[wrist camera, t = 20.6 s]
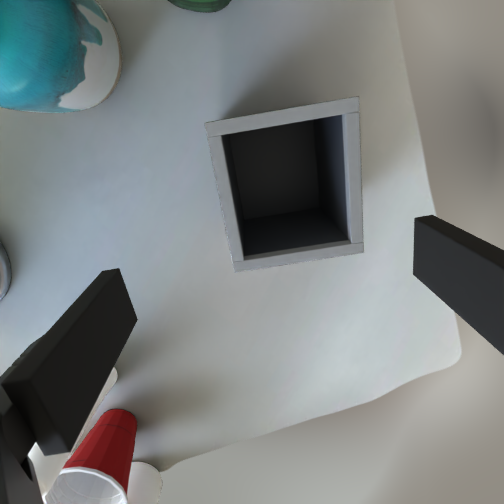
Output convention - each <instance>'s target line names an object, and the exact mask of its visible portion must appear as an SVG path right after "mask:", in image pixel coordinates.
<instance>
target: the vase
mask: <svg viewBox="0 0 504 504" xmlns="http://www.w3.org/2000/svg"><path fill="white" fill-rule="evenodd" d="M121 69H122V52H121V46H120V42H119V38H118V36H117V33H116V30H115V28H114V26H113V24H112V22H111V20H110V18H109V17H108V15H107V14H106V13H105V11H104V10H103V8H102V7H101V6H100V4H99V3H98V2H97V1H96V0H0V107H2V108H7V109H13V110H19V111H29V112H47V113H65V112H74V111H81V110H85V109H88V108H92V107H94V106H96V105H98V104H100V103H102V102H103V101H104V100H105V99H107V98H108V97H109V96H110V95H111V93H112V92H113V91H114V89H115V87H116V86H117V84H118V81H119V78H120V75H121Z"/></svg>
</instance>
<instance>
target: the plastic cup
mask: <svg viewBox="0 0 504 504" xmlns="http://www.w3.org/2000/svg"><path fill="white" fill-rule="evenodd" d="M136 431H137V421H136V418H135V417H134V416H133V415H132V414H131V413H130V412H128V411H125V410H122V409H112V410H109V411H107V412H105V413H104V414H103V415H102V416H101V417H100V419H99V420H98V421H97V423H96V424H95V426H94V427H93V429H91V430H90V432H89V433H88V434H87V436H86V437H85V439H84V440H83V441H82V443H81V444H80V445H79V447H78V448H77V449H76V451H75V452H74V454H73V455H72V456H71V458H70V459H69V460H68V461H67V462H66V463H65V465H64V467H63V468H62V470H61V472H60V474H59V475H58V477H57V479H56V480H55V482H54V484H53V485H52V487H51V489H50V490H49V492H48V494H47V495H46V496H44V497H43V498H42V499H43V501H44V503H45V504H127V503H128V497H127V491H128V484H129V475H130V469H131V464H132V458H133V452H134V446H135V437H136Z"/></svg>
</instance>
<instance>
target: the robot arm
mask: <svg viewBox="0 0 504 504" xmlns="http://www.w3.org/2000/svg"><path fill="white" fill-rule="evenodd" d="M413 275H414V276H416V277H417V278H418V279H419V280H420V281H421V282H422V283H423V284H425V285H426V286H427V287H428V288H429V289H430V290H431V291H432V292H433V293H435V294H436V295H437V296H438V297H439V298H440V299H441V300H442V301H444V302H445V303H446V304H447V305H448V306H449V307H450V308H451V309H452V310H454V311H455V312H456V313H457V314H458V315H459V316H461V317H462V318H463V319H464V320H465V321H466V322H467V323H468V324H469V325H470V326H472V327H473V328H474V329H475V330H476V331H477V332H478V333H479V334H480V335H482V336H483V337H484V338H485V339H486V340H487V341H488V342H489V343H491V344H492V345H493V346H494V347H495V348H496V349H497V350H498V351H500V352H501V353H502V354H503V355H504V250H502V249H500V248H498V247H496V246H494V245H491V244H490V243H488V242H486V241H484V240H482V239H480V238H478V237H476V236H474V235H472V234H470V233H468V232H466V231H464V230H462V229H460V228H458V227H456V226H454V225H452V224H450V223H448V222H446V221H444V220H442V219H439V218H438V217H436V216H434V215H429V216H423V217H417V218H415V222H414V259H413ZM10 280H11V267H10V263H9V259H8V256H7V254H6V251H5V249H4V248H3V246H2V244H1V243H0V300H1V299H2V298H3V297H4V296H5V294H6V292H7V290H8V288H9V285H10ZM137 320H138V319H137V316H136V314H135V311H134V308H133V305H132V302H131V300H130V297H129V294H128V291H127V289H126V286H125V283H124V280H123V278H122V275H121V272H120V269H119V268H117V269H111V270H105V271H102V272H101V273H100V274H99V275H98V276H97V277H96V279H95V280H94V281H93V282H92V283H91V284H90V285H89V286H88V287H87V289H86V290H85V291H84V292H83V293H82V294H81V295H80V296H79V297H78V299H77V300H76V301H75V302H74V303H73V304H72V305H71V306H70V307H69V308H68V310H67V311H66V312H65V313H64V314H63V315H62V316H61V317H60V318H59V320H58V321H57V322H56V323H55V324H54V325H53V326H52V327H51V328H50V330H49V331H48V332H47V333H46V334H45V335H43V336H42V337H40V338H39V339H38V340H36V341H35V342H33V343H32V344H31V345H30V346H29V347H28V348H27V349H26V350H25V351H24V352H23V353H22V354H21V355H20V358H17V360H16V361H15V362H14V363H13V364H12V367H9V368H8V369H7V370H6V371H5V372H4V374H3V375H2V376H1V377H0V504H44V503H43V499H42V495H41V492H40V488H39V484H38V480H37V476H36V473H35V469H34V465H33V462H32V461H31V459H30V458H29V456H28V454H29V452H30V450H31V449H32V447H33V446H34V444H35V443H37V445H38V446H39V448H40V449H41V451H42V453H43V454H44V456H49V455H56V454H62V453H69V452H71V450H72V448H73V446H74V444H75V442H76V440H77V438H78V436H79V434H80V432H81V430H82V428H83V426H84V424H85V423H86V421H87V419H88V417H89V415H90V413H91V411H92V409H93V407H94V405H95V403H96V401H97V399H98V397H99V395H100V393H101V391H102V389H103V387H104V385H105V383H106V381H107V379H108V377H109V375H110V373H111V371H112V369H113V367H114V365H115V363H116V361H117V359H118V358H119V356H120V354H121V352H122V350H123V348H124V346H125V344H126V342H127V340H128V338H129V336H130V334H131V332H132V330H133V328H134V326H135V324H136V322H137Z"/></svg>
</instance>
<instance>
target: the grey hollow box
mask: <svg viewBox="0 0 504 504" xmlns="http://www.w3.org/2000/svg"><path fill="white" fill-rule="evenodd" d="M359 111H360V110H359V96H356V97H350V98H344V99H339V100H333V101H327V102H321V103H316V104H310V105H304V106H298V107H293V108H287V109H281V110H275V111H270V112H264V113H258V114H252V115H247V116H241V117H235V118H229V119H224V120H218V121H212V122H206V123H205V129H206V134H207V137H208V143H209V148H210V153H211V158H212V163H213V168H214V173H215V178H216V183H217V188H218V193H219V198H220V203H221V208H222V213H223V218H224V223H225V228H226V233H227V238H228V243H229V248H230V253H231V258H232V262H233V268H234V272H235V273H236V272H242V271H249V270H255V269H262V268H268V267H274V266H281V265H287V264H294V263H300V262H307V261H313V260H320V259H326V258H333V257H339V256H346V255H352V254H358V253H364V244H363V212H362V179H361V146H360V113H359Z"/></svg>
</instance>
